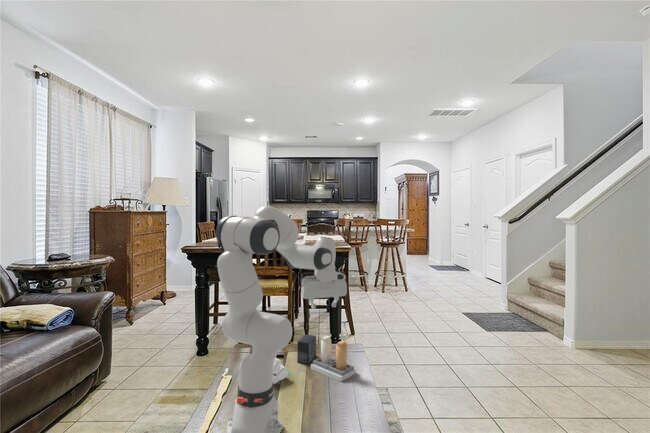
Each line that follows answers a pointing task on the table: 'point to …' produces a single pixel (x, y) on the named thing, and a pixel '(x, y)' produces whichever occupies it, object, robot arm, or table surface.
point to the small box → (306, 349)
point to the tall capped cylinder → (341, 355)
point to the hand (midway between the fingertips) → (323, 307)
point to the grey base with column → (330, 363)
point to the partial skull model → (279, 371)
